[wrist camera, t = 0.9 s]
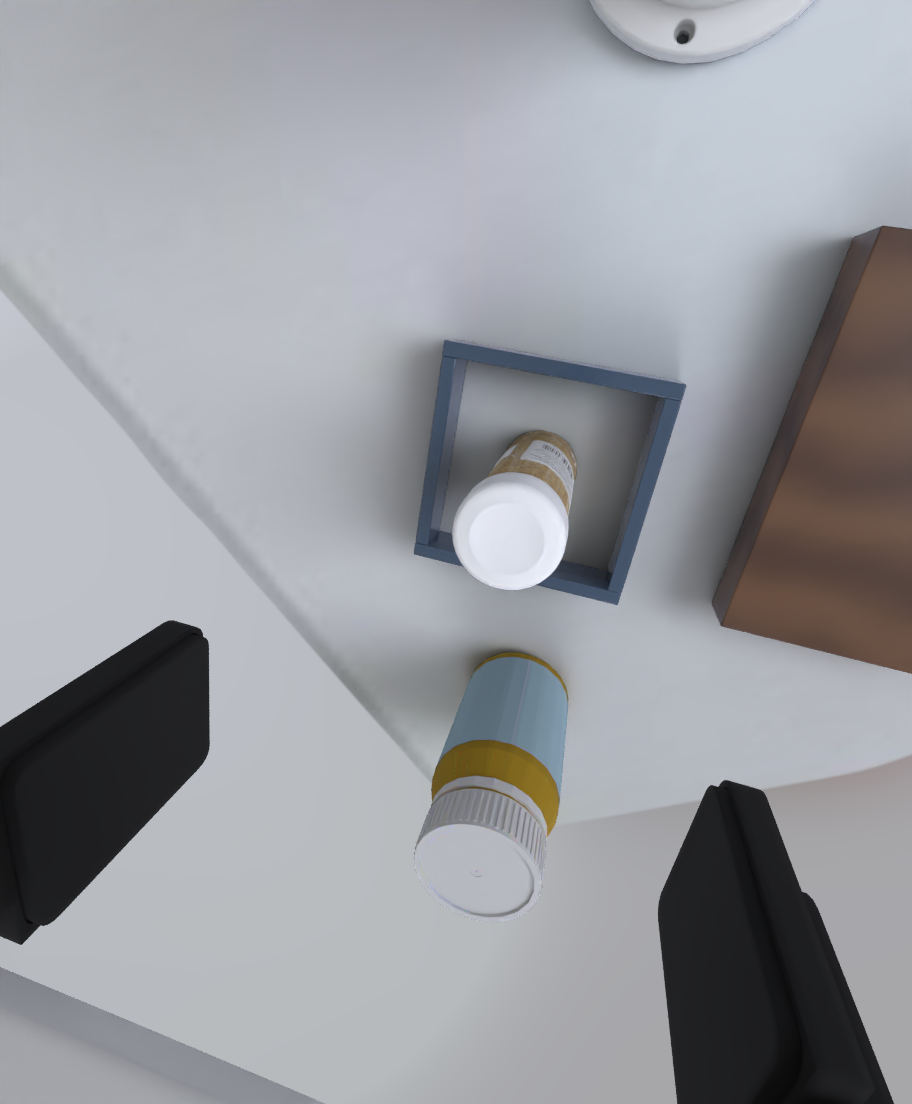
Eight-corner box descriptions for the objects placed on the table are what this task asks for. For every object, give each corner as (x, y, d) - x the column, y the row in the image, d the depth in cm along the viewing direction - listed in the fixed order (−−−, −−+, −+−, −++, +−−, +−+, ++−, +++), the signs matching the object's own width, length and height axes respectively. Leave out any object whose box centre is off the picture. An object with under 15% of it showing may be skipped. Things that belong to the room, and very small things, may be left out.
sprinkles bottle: (491, 448, 34) (430, 508, 22) (561, 416, 33) (537, 463, 20) (520, 514, 35) (478, 608, 23) (590, 487, 34) (584, 572, 21)
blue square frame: (457, 339, 32) (444, 339, 30) (679, 380, 30) (686, 384, 28) (426, 538, 37) (413, 554, 35) (616, 585, 35) (617, 605, 33)
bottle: (576, 659, 38) (563, 840, 24) (559, 741, 40) (538, 946, 27) (476, 638, 39) (409, 799, 25) (466, 719, 42) (400, 903, 28)
